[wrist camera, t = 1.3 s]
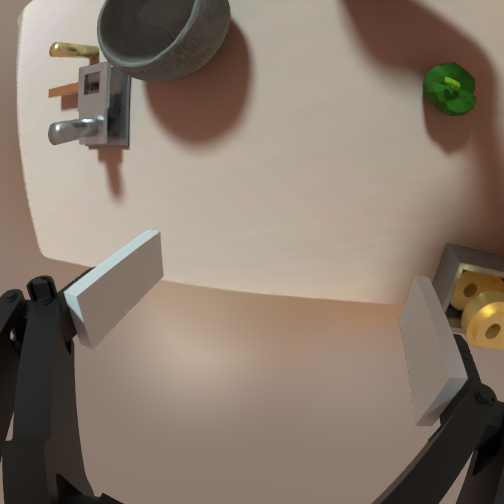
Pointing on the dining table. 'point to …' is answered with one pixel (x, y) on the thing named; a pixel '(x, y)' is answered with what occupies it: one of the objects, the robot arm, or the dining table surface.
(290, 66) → the dining table surface
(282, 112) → the dining table surface
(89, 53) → the gold rounded cylinder
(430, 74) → the bell pepper
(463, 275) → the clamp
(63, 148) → the dining table surface
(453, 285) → the grey open-top box
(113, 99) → the grey lever block
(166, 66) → the bowl
